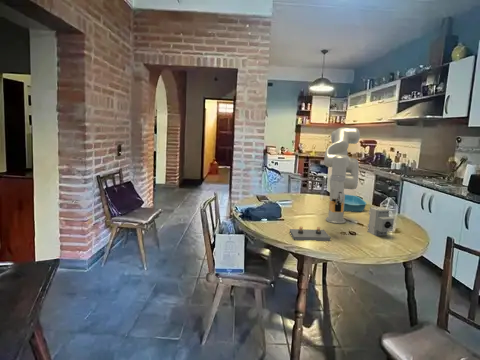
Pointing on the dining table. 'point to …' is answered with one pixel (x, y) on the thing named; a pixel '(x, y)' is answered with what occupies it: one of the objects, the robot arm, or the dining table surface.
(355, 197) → the casserole dish
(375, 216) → the circuit breaker
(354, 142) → the robot arm
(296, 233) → the plate
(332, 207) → the orange panelled cube
